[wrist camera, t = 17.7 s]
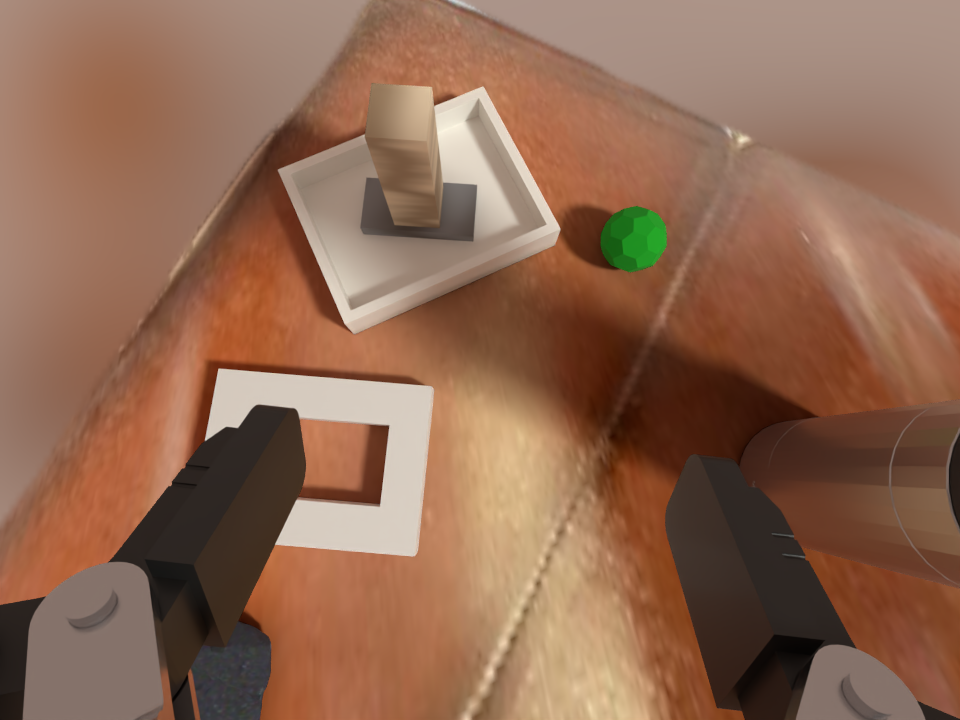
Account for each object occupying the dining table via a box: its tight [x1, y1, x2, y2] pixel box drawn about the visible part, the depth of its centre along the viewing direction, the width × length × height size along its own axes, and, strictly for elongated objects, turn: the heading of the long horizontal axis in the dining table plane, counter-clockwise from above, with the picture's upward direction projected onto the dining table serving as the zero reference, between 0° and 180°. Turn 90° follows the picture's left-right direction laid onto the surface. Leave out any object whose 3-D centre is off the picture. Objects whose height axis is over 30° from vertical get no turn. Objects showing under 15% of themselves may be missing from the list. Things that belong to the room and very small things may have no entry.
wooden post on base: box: [360, 83, 477, 242], centre depth 35 cm, size 9×4×12 cm, turn 86°
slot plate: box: [205, 369, 434, 556], centre depth 37 cm, size 16×12×2 cm
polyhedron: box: [601, 206, 667, 272], centre depth 39 cm, size 5×5×5 cm
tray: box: [278, 87, 561, 334], centre depth 41 cm, size 18×14×3 cm
